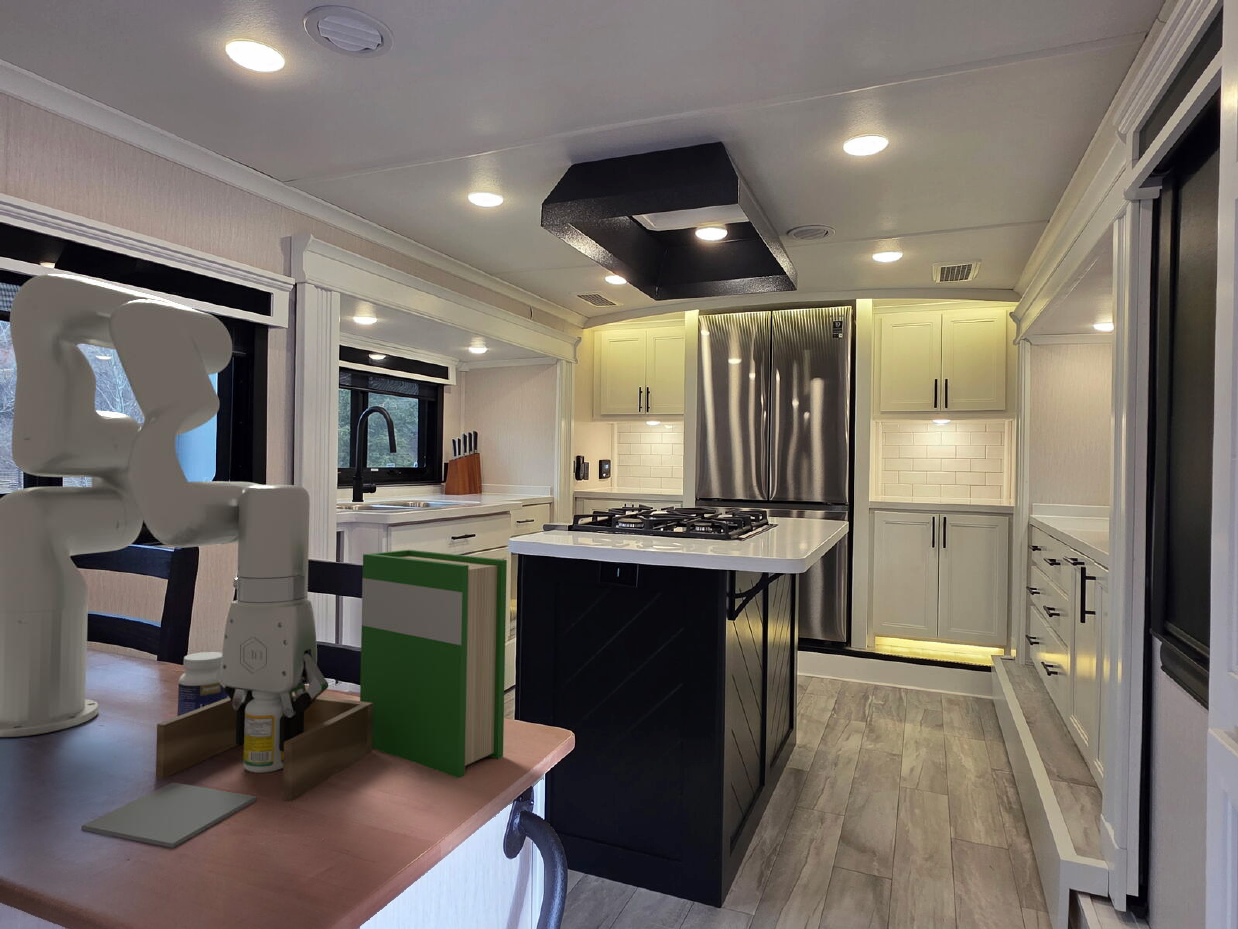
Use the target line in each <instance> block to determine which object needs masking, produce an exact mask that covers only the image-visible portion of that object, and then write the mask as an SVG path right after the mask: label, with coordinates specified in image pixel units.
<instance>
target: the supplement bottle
mask: <svg viewBox="0 0 1238 929" xmlns="http://www.w3.org/2000/svg"><path fill="white" fill-rule="evenodd" d="M252 696H253V697H254V699H253V700H251V701H250V702H249V703H248V704H247V706H246V708H245V728H244V744H243V757H242V758H243V762H242V763H243V767H244V769H245V770H246V771H248V772H251V773H258V774H262V773H271V772H275V771H278V770H281V769H284V752H282V751H280V749H279V738H280V718H281V717H282V716H285V713H284V708H283V704H282V700H281V696H280V694H275V693H266V692H257V691H252Z"/></svg>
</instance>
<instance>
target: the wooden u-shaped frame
mask: <svg viewBox="0 0 1238 929" xmlns="http://www.w3.org/2000/svg"><path fill="white" fill-rule="evenodd" d="M292 695H293V699H294V701H295V700H296V696H295V692H292ZM231 704H232V701H231V699H230V698H229V697H228V698H226V699H223V700H221V701H218V702H215V703H213V704H210V705H207V706H204V707H202V708H199V709H196V710H194V711H191V712H188V713H186V714H183V715H180V716H175V717H172V718H170V719H167V720H165V721H161V722H159V723H157V724H156V748H155V749H156V753H155V755H156V756H155V779H158V778H159V780H164V778H165V779H167V778H169V777H172V776H174V775H176V774H177V773H180V772H182V771H185V770H187V769H189V768H192V767H193V766H195V765H197V764H199V763H202V762H204V761H206V760H208V759H211V758H212V756H213V757H215V756H217V755H219V754H221V753H223V752H226V751H228V750H230V749H231V748H235V747H236V746H238V745H236V711H237V710H233V708H232V706H231ZM372 720H373V703H370V702H362V701H360V700H353V699H352V700H351V699H343V698H337V697H336V698H335V697H326V696H321V695H319V696H318V697H317V698H316V699H315V701H314V702H313V703H312V704H311V705H310V706H309V709H308V710H305V711H304V733H302V734H300V735H298V736H296V737H294V738H292V739H290V740H287V741H285V742H284V768H282V769H283V774H282V775H283V778H282V780H283V781H282V800H283V801H289V802H291V801H293V800H295V799H296V798H298V797H299V796H302V795H303V794H305V793H306V792H309V791H310V790H312V789H314V787H316V786H318V785H320V784H321V783H323V782H324V781H326V780H328V779H329V778H331V777H332V776H334V775H336V774H338V773H339V772H341V771H343V770H344V769H346V768H348V767H349V766H351V765H352V764H354V763H356V762H357V761H359V760H360V759H362V758H364V757H366V756H367V755H369V754H371V753H373V748H372ZM210 757H211V758H210ZM203 760H204V761H203ZM196 763H197V764H196ZM188 767H189V768H188ZM175 773H176V774H175ZM166 777H167V778H166Z"/></svg>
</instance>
